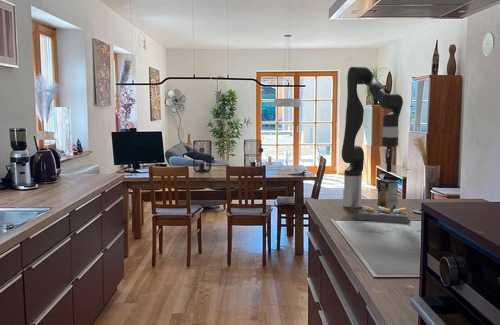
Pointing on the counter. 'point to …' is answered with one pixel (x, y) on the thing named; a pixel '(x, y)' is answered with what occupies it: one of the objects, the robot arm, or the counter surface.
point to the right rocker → (399, 210)
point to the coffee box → (387, 194)
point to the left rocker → (368, 208)
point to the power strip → (383, 216)
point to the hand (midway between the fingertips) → (388, 171)
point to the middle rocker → (383, 209)
